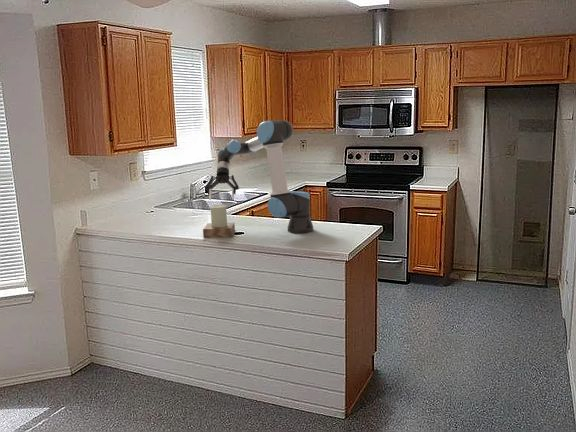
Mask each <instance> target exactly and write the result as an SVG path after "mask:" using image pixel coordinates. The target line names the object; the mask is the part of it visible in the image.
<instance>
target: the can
mask: <svg viewBox="0 0 576 432" xmlns="http://www.w3.org/2000/svg"><path fill="white" fill-rule="evenodd" d="M210 217H211V218H210V219H211V222H210V223H212V225H211V226H212V227H216V228H218V227H226V226H227V223H228V218H227V217H228V215H227V205H225V204H213V205H211V206H210Z"/></svg>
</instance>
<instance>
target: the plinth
mask: <svg viewBox="0 0 576 432" xmlns="http://www.w3.org/2000/svg"><path fill="white" fill-rule="evenodd" d="M211 225H212V223H211V222H208V223H206V225H205V226H204V227H203V228H202V234H203V235H202V236H203V239H210V238H212V239H213V238H215V239H216V238H219V239H220V238H232V237H233V235H234V234H233V233H235V231H236V228H235V227H236V226H235V222H227V226H226V227H218V228H216V227H212V226H211Z"/></svg>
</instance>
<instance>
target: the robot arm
mask: <svg viewBox="0 0 576 432" xmlns="http://www.w3.org/2000/svg"><path fill="white" fill-rule="evenodd" d="M293 135H294V127H293V125H292V124H291V122H289V121H288V120H285V119H284V120H283V119H282V120H281V119H279V120H277V119H276V120H265V121H262V122H261V123H260V124H259V126H258V127H257V129H256V137H253V138H252V139H250V140H247V141H242V142H240V141H238V140H236V139H231V140H230V142H228V143H227V145H226V146H225V147H222V148H220V149H219V150H218V153H217V168H216V175H215V176H214V175H211V177H210V179H209V180H208V182H207V183H206V185H205V186H204V188H205V189H204V191H207V196H208V199H209V201H211V200H212V190H213V189H214V188H215V187H216V186H217V185H219V184H220V185H221V184H227V185H228V186H229V187H230V188H231V199H232V200H234V195H236V194H237V193H236V191H237V190H240V187H239V184H238V182H237V181H236V180H235V176H234V175H233V174H232V175H231V176H230V166H231V165H230V163H231V161H232V159H233V158H234V157H235V156H241V155H252V154H255V153H256V152H257V151H259V150H261V149H263V148H264V149H265V151H266V156H267V162H268V168H269V169H268V170H269V177H270V185H271V189H272V191H271V193H270V198H269V199H268V202H267V209H268V212H269V213H270V214H271V216H272V217H274V218H277V219H279V218H285V217H289V220H288V224H287V232H289V233H292V234H306V233H312V232H313V231H314V224H313V222H312V219H311V197H310V193H309V192H306V191H299V190H298V191H295V190H293V191H292V190H289V189H288V184H287V182H288V181H287V177H286V169H285V163H284V157H283V155H284V154H283V150H282V147H283V144H284V141H288V140H289V139H291V138H292V137H293ZM230 180H231V181H232V182H231V181H230Z"/></svg>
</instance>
